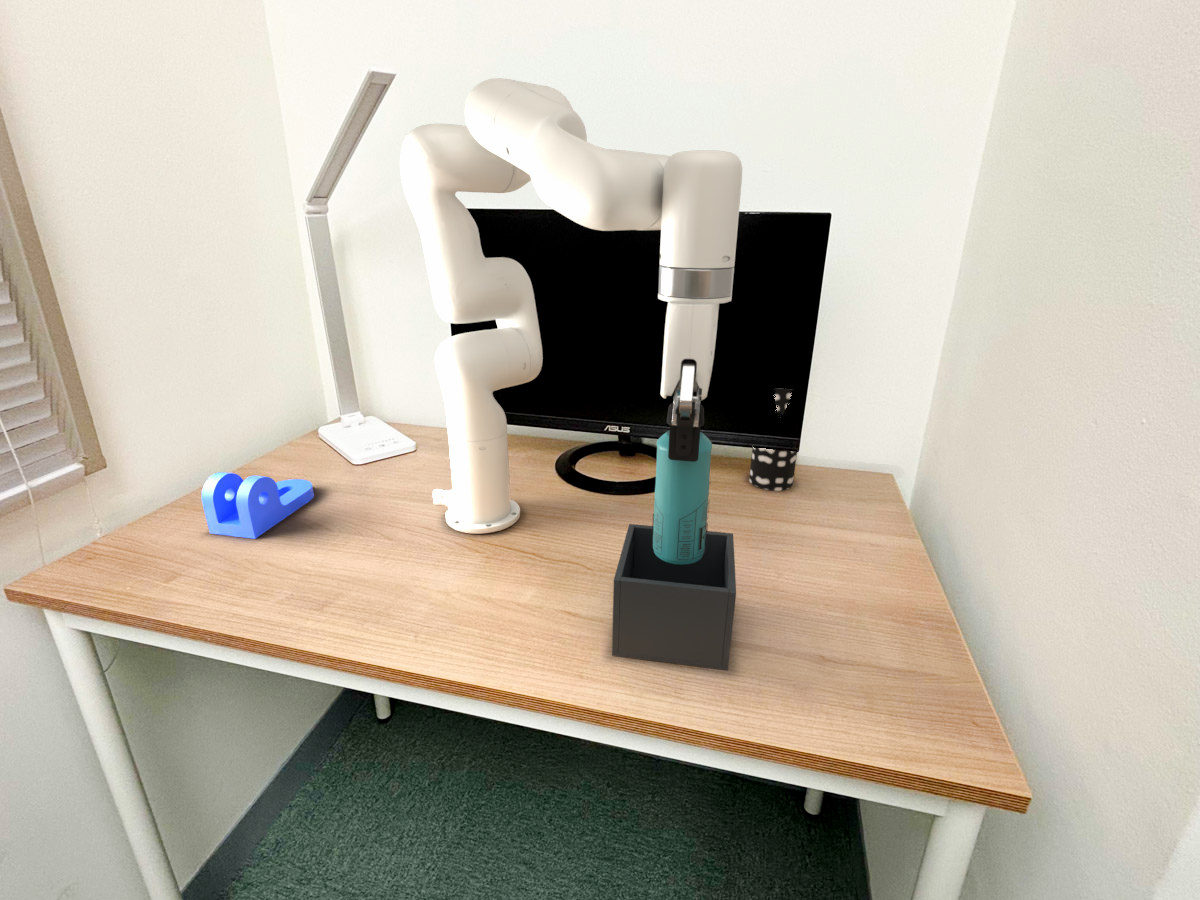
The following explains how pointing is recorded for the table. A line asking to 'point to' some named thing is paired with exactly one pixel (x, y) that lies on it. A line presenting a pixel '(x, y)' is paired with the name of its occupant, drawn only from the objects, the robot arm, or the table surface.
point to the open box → (674, 603)
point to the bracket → (250, 503)
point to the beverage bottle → (681, 501)
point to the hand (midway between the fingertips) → (684, 446)
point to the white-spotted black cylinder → (774, 457)
